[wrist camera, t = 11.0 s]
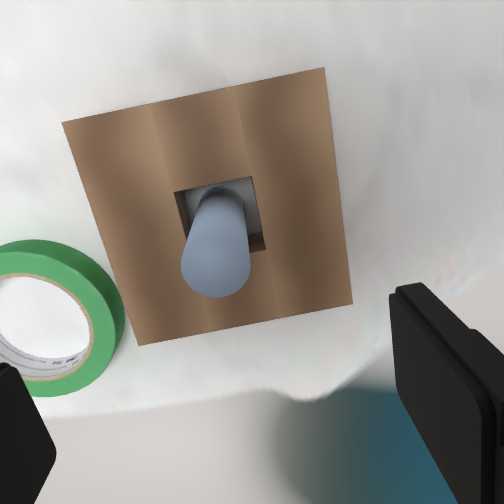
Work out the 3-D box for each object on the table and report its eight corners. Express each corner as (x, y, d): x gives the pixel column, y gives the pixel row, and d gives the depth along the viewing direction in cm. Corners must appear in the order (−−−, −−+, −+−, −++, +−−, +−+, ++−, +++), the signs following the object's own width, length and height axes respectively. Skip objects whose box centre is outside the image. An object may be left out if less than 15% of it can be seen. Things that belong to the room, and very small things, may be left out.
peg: (238, 181, 26) (242, 226, 17) (247, 225, 27) (256, 290, 18) (193, 191, 26) (172, 241, 17) (204, 234, 27) (190, 303, 18)
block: (311, 72, 24) (324, 66, 21) (339, 281, 29) (352, 304, 26) (84, 119, 24) (61, 122, 21) (149, 318, 29) (138, 346, 26)
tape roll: (16, 392, 31) (-2, 417, 29) (-66, 268, 28) (-96, 284, 25) (149, 350, 31) (142, 371, 28) (83, 216, 27) (68, 228, 24)
